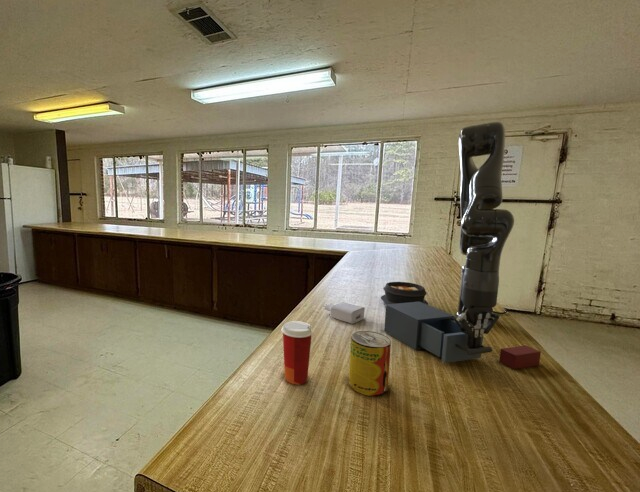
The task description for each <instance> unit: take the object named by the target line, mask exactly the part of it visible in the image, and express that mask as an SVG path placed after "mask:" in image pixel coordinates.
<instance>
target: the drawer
mask: <svg viewBox="0 0 640 492" xmlns="http://www.w3.org/2000/svg"><path fill="white" fill-rule="evenodd" d="M467 340H468V335H467V334H465V333H463V332H461V330H460V328H459V327H458V325H457V324H456V322H455V321H453V320H451V319H444V320H434V321H425V322H420V330H419V342H418V345H419V346H421V347H423V348H424V349H423V350H426V351H427V352H429V353H431V354H433V355H435V356H437V357H438V358H441V362H442V363H444V364H449V363H454V362H461V361H462V362H463V361H468V360H475V359H481V358H482V354H488V353H492V352H493V348H492V347H491V346H485V345H483V342H484V336H483V337H481V343H480V347H479V348H475V349H470V348H468V346H467Z"/></svg>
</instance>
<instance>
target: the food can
mask: <svg viewBox="0 0 640 492" xmlns="http://www.w3.org/2000/svg"><path fill="white" fill-rule="evenodd" d="M349 345H350V346H349V348H350V350H349V362H348V363H349V365H348V385H349V387H350V388H351V389H352V390H354V391H355V392H357V393H359V394H362V395H365V396H369V397H380V396H384V395H386V394H387V393H388V390H389V377H390V375H389V374H390V361H391V349H392V347H391V346H392V341H391V338H389V337H388V336H386V335H385V334H382V333H379V332H376V331H370V330H358V331H354V332H352V333H351V335H350V344H349Z"/></svg>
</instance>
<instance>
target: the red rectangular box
mask: <svg viewBox="0 0 640 492" xmlns="http://www.w3.org/2000/svg"><path fill="white" fill-rule="evenodd" d="M541 354H542V351H541V350H538V349H536V348H533V347H531V346H529V345H526V344H525V345H518V346H511V347H504V348H500V352H499V360H498V361H499V363H500V364H502V365H504V366H506V367H508V368H510V369H513V370H518V369H525V368H530V367H537V366H540V362H541V361H540V360H541Z"/></svg>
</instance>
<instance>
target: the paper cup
mask: <svg viewBox="0 0 640 492" xmlns="http://www.w3.org/2000/svg"><path fill="white" fill-rule="evenodd" d="M280 331H281V332H282V341H283V342H282V344H283V347H282V348H283V365H284V366H283V369H284V379H285V381H286V382H287V383H289V384H292V385H297V386H298V385H299V386H300V385H304V384H306V383H307V382H308V376H309V365H310V357H311V355H310V354H311V348H312V347H311V346H312V335H313V334H314V330H313V329H312V325H310V323H307V322H305V321H300V320H291V321H287V322H285V323H284V324H283V325H282V327H281V328H280Z"/></svg>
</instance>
